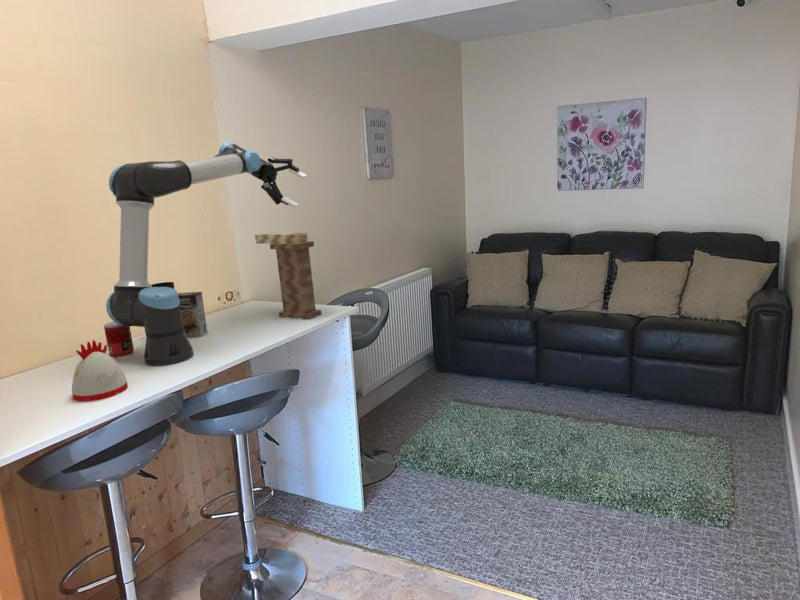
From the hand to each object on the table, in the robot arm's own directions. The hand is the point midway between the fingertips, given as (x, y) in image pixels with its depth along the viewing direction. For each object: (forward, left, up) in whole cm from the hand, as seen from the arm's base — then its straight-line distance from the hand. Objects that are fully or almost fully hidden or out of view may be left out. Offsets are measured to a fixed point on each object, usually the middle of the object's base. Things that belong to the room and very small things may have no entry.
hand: (300, 191), depth 231 cm
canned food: (-56, -48, -50) cm, 89 cm away
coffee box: (-40, -27, -50) cm, 69 cm away
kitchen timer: (-39, -85, -50) cm, 106 cm away
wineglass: (-50, -26, -50) cm, 75 cm away
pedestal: (-5, -4, -50) cm, 50 cm away
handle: (-10, -1, -20) cm, 22 cm away
